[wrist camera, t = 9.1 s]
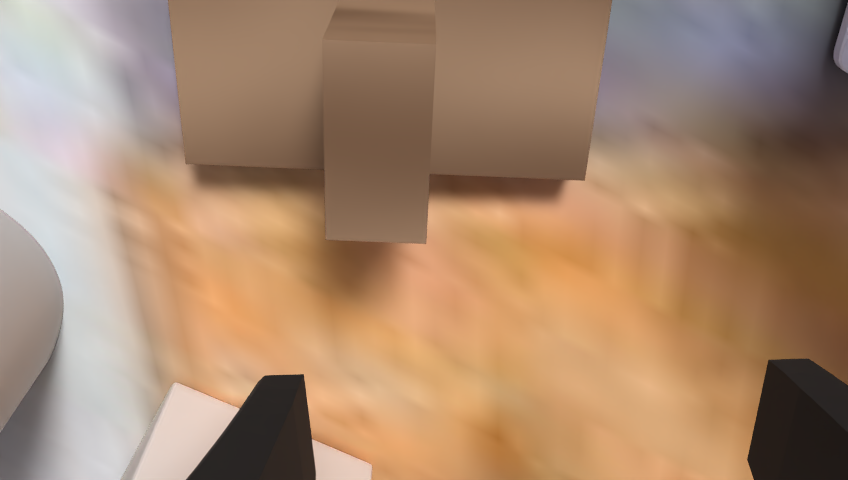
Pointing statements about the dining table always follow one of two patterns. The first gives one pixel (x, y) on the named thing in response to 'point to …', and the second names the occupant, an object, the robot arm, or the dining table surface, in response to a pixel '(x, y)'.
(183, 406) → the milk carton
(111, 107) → the dining table surface
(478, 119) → the walnut strip
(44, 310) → the lumpy-topped squat cylinder
